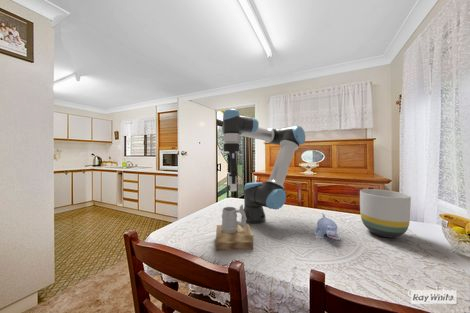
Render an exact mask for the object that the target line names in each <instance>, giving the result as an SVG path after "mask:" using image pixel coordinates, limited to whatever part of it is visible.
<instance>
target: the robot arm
mask: <svg viewBox="0 0 470 313" xmlns="http://www.w3.org/2000/svg"><path fill="white" fill-rule="evenodd" d="M222 122H223V123H222V126H221V130H222V133H223V135H222V136H221V138H222V139H223V151H224V152H228V153H227V155H226V159H227V162H226V163H227V169H226V171H227V186H230V190H229V191H230V192H237V191H238V187H237V186H238V185H237V184H238V183H237V181H238V180H237V176H238V169H237V168H238V166H237V154H236V153H237V152H240V144H239V143H240V137H245V138H250V139H255V140H261V141H264V142H265V143H268V144H273V145H276V146H280V148H279V151H278V154H277V156H276V159H275V161H274V164H273V167H272V170H271V173H270V175H269V178H268V179H267V180H265V182H264V184H263V182H261V181H260V182H259V181H257V182H256V181H255V182H247V183H245V185H244V188H243V194H244V195H243V196H244V198H243V200H244V201H243V203H244V204H243V209H244V212H245V215H246V218H247V219H246V223H247V224H261V223H264V222H265V221H266V213H265V211H264V207H265V208H268V209H270V210H275V211H276V210H279V209H281V208H282V207H283V206H284V205H285V203H286V200H287V193H286V191H285V186H284V183H285V180H286V177H287V175H288V171H289V169H290V166H291V162H292V160H293V157H294V154H295V152H296V151H297V150H298V149H299V147H300V145H303V144H305V141H306V134H305V130H304V128H302V126H300V125H293V126H287V127H280V128H278V127H277V128H265V127H264V128H263V127H259V124H260V123H259V120H257V118H254V117H251V116H250V117H249V116H243V115H240V111H239V110H238V109H234V108H231V109H229V108H228V109H225V110H224V111H223V116H222ZM235 152H236V153H235ZM242 220H243V217H242V216H241V221H242Z"/></svg>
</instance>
